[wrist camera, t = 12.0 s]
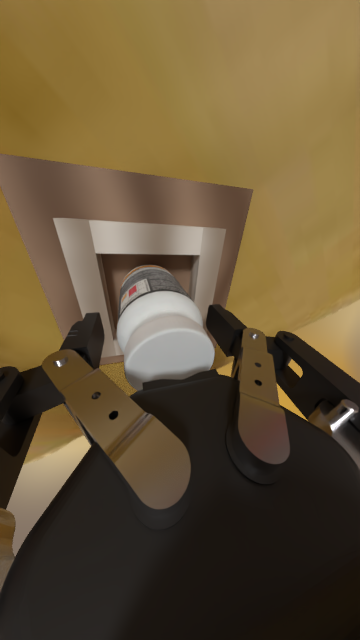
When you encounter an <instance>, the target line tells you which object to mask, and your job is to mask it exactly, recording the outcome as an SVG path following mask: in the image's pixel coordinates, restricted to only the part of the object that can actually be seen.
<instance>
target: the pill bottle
mask: <svg viewBox="0 0 360 640" xmlns="http://www.w3.org/2000/svg"><path fill="white" fill-rule="evenodd" d="M117 340H118V343H119V346H120V348H121V350H122V352H123V353H124V371H125V376H126V379H127V381H128V382H129V384H130V385H131V386H132V387H133V388H135V389H136V390H138V391H139V390H141V389H143V386H142V382H148V381H153V380H159V379H177V380H182V379H185V378H187V377H190V376H192V375H194V374H196V373H198V372H202V371H208V370H209V369H210V368H211V366H212V364H213V361H214V355H215V352H214V347H213V344H212V342H211V340H210V338H209V337H208V335H207V333H206V332H205V330H204V329H203V320H202V316H201V313H200V311H199V309H198V307H197V306H196V304H195V303H194V301H193V300H192V299H191V298H190V296H189V295H188V293H186V291H185V290H184V289H183V288H182V286H181V285H180V283H179V282H178V281H177V280H176V278H175V277H174V276H173V275H172V274H171V273H170V272H169V271H168V270H166V269H164V268H162V267H160V266H157V265H142V266H139V267H136V268H134V269H133V270H131V271H130V272H129V273H128V274H127V275H126V276H125V278H124V280H123V282H122V284H121V287H120V294H119V308H118V320H117Z"/></svg>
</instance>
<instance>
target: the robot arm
mask: <svg viewBox="0 0 360 640" xmlns="http://www.w3.org/2000/svg"><path fill="white" fill-rule="evenodd" d="M206 327H207V329H208V331H209V332H210V334H211V335H212V336H213V338H214V339H215V341H216V342H217V344H218V345H219V346H220V348H221V349H222V351H223V352H224V354H225V355H226V356H227V357H229V356H234V360H233V365H232V372H231V377H229V376H225V375H219V374H218V372H217V371H216V369H213V370H208V371H202V372H198V373H196V374H194V375H192V376H190V377H187V378H185V379H182V380H177V379H159V380H153V381H148V382H142V386H143V389H141V390H139V391H137V392H135V393H134V394H132V395H131V396H130V397H129V396H128V395H127V394H126V393H125V392H124V391H122V390H121V389H120V388H119V387H118V386H117V385H116V384H115V383H114V382H113V381H112V380H111V379H110V378H109V377H108V376H107V375H106V374H105V373H103V372H102V371H101V370H100V369H99V365H100V360H101V355H102V350H103V345H104V340H105V334H104V329H103V325H102V320H101V316H100V313H99V312H94V313H86V314H85V317H84V319H83V321H77V322H76V323H75V324H74V325H72V327H71V329H70V331H69V332H68V334H67V337H66V338H65V340H64V342H63V344H62V346H61V348H60V350H59V351H57V352H54V353H52V354H51V355H49V356H48V357H46V358H45V359H44V361H43V362H42V365H41V366H38V367H36V368H33V369H29V370H26V371H23V372H19V371H18V369H17V368H15V367H11V366H8V367H2V368H0V640H360V383H359V382H357V381H356V380H355V379H353V378H352V377H351V376H349V375H348V374H347V373H345V372H344V371H343V370H341V369H340V368H339V367H337V366H336V365H335V364H333V363H332V362H331V361H329V360H328V359H327V358H326V357H324V356H323V355H321V354H320V353H319V352H318V351H316V350H315V349H314V348H312V347H311V346H309V345H308V344H307V343H306V342H304V341H303V340H302V339H300V338H299V337H298V336H296V335H295V334H292V333H290V332H286V331H279V332H277V334H276V336H275V337H267V336H265V334H264V333H263V332H261V331H260V330H257V329H254V328H247V327H246V326H245V325H244V324H243V323H242V322H241V321H240V320H238V318H236V317H235V316H234V315H233V314H232V313H231V312H229V311H227V310H225V309H224V308H223V307H222V306H221V305H220V304H213V305H209V307H208V312H207V318H206ZM291 359H293V360H294V361H295V362H296V363H297V364H298V365H299V366H300V367H301V368H302V371H303V375H302V377H301V378H300V377H299V376H298V375H297V374H296V373H295V372H294V371H293V370H292V369H291V368H290V367H289V366H288V364H289V362H290V361H291ZM276 382H277V384H278V385H279V386H280V387H281V389H282V390H283V391H284V392H285V393H286V394H287V396H288V397H289V398H290V399H291V401H292V402H293V403H294V404H295V406H296V407H297V408H298V409H299V410H300V411H301V413H302V414H303V415H304V416H305V417H306V419H307V420H308V421H309V422H308V421H307V420H305V419H303V418H301V417H300V416H298V415H296V414H295V413H293V412H291V411H289V410H288V409H286V408H284V407H283V406H281V405H280V404H279V399H278V391H277V385H276ZM62 403H63V404H64V406H65V407H66V409H67V410H68V412H69V413H70V415H71V416H72V417H73V419H74V420H75V422H76V423H77V425H78V426H79V428H80V429H81V431H82V432H83V434H84V436H85V437H86V439H87V440H88V442H89V443H90V445H91V448H90V449H89V450H88V452H87V453H86V454H85V456H84V457H83V459H82V460H81V461H80V463H79V464H78V466H77V467H76V468H75V470H74V471H73V473H72V474H71V475H70V477H69V478H68V479H67V481H66V482H65V484H64V485H63V486H62V488H61V490H60V491H59V492H58V493H57V495H56V496H55V498H54V499H53V500H52V502H51V503H50V504H49V506H48V507H47V509H46V510H45V511H44V513H43V514H42V516H41V517H40V518H39V520H38V521H37V523H36V524H35V525H34V527H33V528H32V530H31V531H30V532H29V534H28V536H27V537H26V539H25V540H24V542H23V544H22V545H21V548H20V549H19V551H18V553H17V555H16V557H15V556H14V554H13V548H12V544H13V537H14V532H15V525H16V522H15V517H14V515H13V514H12V513H11V512H10V511H7V510H6V508H7V505H8V503H9V500H10V497H11V495H12V492H13V489H14V487H15V484H16V481H17V479H18V476H19V473H20V471H21V468H22V465H23V463H24V460H25V457H26V455H27V452H28V449H29V447H30V444H31V441H32V439H33V436H34V433H35V431H36V428H37V425H38V423H39V420H40V417H41V415H42V412H44V411H46V410H49V409H51V408H53V407H55V406H58V405H60V404H62Z"/></svg>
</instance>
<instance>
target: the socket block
mask: <svg viewBox="0 0 360 640" xmlns="http://www.w3.org/2000/svg"><path fill="white" fill-rule="evenodd" d="M0 186H1V189H2V191H3V194H4V196H5V199H6V201H7V203H8V206H9V208H10V211H11V213H12V216H13V218H14V220H15V223H16V225H17V228H18V230H19V232H20V235H21V237H22V240H23V242H24V245H25V247H26V249H27V252H28V254H29V257H30V259H31V261H32V264H33V266H34V269H35V271H36V274H37V276H38V278H39V281H40V283H41V286H42V288H43V290H44V293H45V295H46V298H47V300H48V303H49V305H50V307H51V310H52V312H53V315H54V317H55V320H56V322H57V324H58V327H59V329H60V332H61V334H62V336H63V339H64V340H65V338H66V337H67V334H68V332H69V331H70V329H71V327H72V325H74V324H75V323H76V322H77V321H83V319H84V317H85V314H86V313H94V312H99V313H100V316H101V320H102V325H103V329H104V334H105V340H104V345H103V350H102V355H101V360H100V365H103V364H110V363H117V362H124V353H123V352H122V350H121V348H120V346H119V343H118V340H117V320H118V308H119V294H120V287H121V284H122V282H123V280H124V278H125V276H126V275H127V274H128V273H129V272H130V271H131V270H133V269H134V268H136V267H139V266H142V265H157V266H160V267H162V268H164V269H166V270H168V271H169V272H170V273H171V274H172V275H173V276H174V277H175V278H176V280H177V281H178V282H179V283H180V285H181V286H182V288H183V289H184V290H185V291H186V293H188V295H189V296H190V298H191V299H192V300H193V301H194V303H195V304H196V306H197V307H198V309H199V311H200V313H201V316H202V320H203V329H204V330H205V332H206V333H207V335H208V337H209V338H210V340H211V342H212V344H213V347H214V348H216V345H217V342H216V341H215V339H214V338H213V336H212V335H211V334H210V332H209V331H208V329H207V327H206V318H207V312H208V307H209V305H213V304H220V305H221V306H222V307H223V308H224V309H225V307H226V302H227V298H228V294H229V290H230V286H231V281H232V277H233V273H234V269H235V265H236V260H237V256H238V252H239V248H240V244H241V239H242V235H243V231H244V227H245V222H246V218H247V214H248V210H249V206H250V201H251V197H252V193H253V189H247V188H239V187H232V186H225V185H218V184H211V183H204V182H197V181H190V180H183V179H176V178H169V177H161V176H154V175H147V174H140V173H133V172H126V171H119V170H112V169H105V168H98V167H91V166H83V165H76V164H69V163H62V162H55V161H48V160H41V159H34V158H27V157H20V156H13V155H5V154H0Z"/></svg>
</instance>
